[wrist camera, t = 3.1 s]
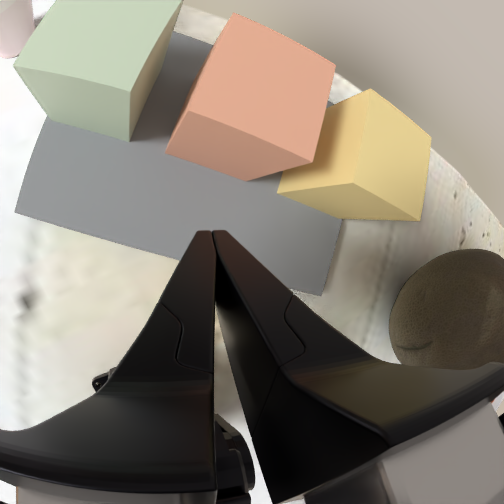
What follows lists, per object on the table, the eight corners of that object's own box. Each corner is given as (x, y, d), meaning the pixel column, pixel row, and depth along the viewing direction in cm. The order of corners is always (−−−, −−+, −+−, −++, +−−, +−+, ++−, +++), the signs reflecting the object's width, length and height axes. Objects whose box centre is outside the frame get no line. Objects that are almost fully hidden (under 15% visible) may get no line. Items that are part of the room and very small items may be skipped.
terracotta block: (245, 181, 21) (312, 162, 14) (164, 153, 19) (188, 110, 11) (268, 109, 21) (335, 65, 14) (194, 79, 19) (233, 12, 11)
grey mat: (313, 293, 26) (321, 296, 25) (20, 212, 17) (14, 212, 15) (354, 125, 26) (363, 122, 25) (104, 21, 17) (104, 13, 16)
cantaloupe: (412, 367, 33) (506, 410, 20) (342, 348, 28) (468, 415, 14) (450, 266, 34) (548, 283, 21) (393, 216, 29) (528, 223, 15)
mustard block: (338, 218, 25) (419, 221, 17) (276, 193, 22) (352, 182, 15) (353, 153, 25) (431, 137, 17) (296, 122, 22) (370, 88, 15)
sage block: (129, 142, 18) (130, 91, 10) (51, 120, 16) (12, 65, 8) (161, 67, 18) (185, -5, 10) (88, 48, 16) (79, -27, 8)
